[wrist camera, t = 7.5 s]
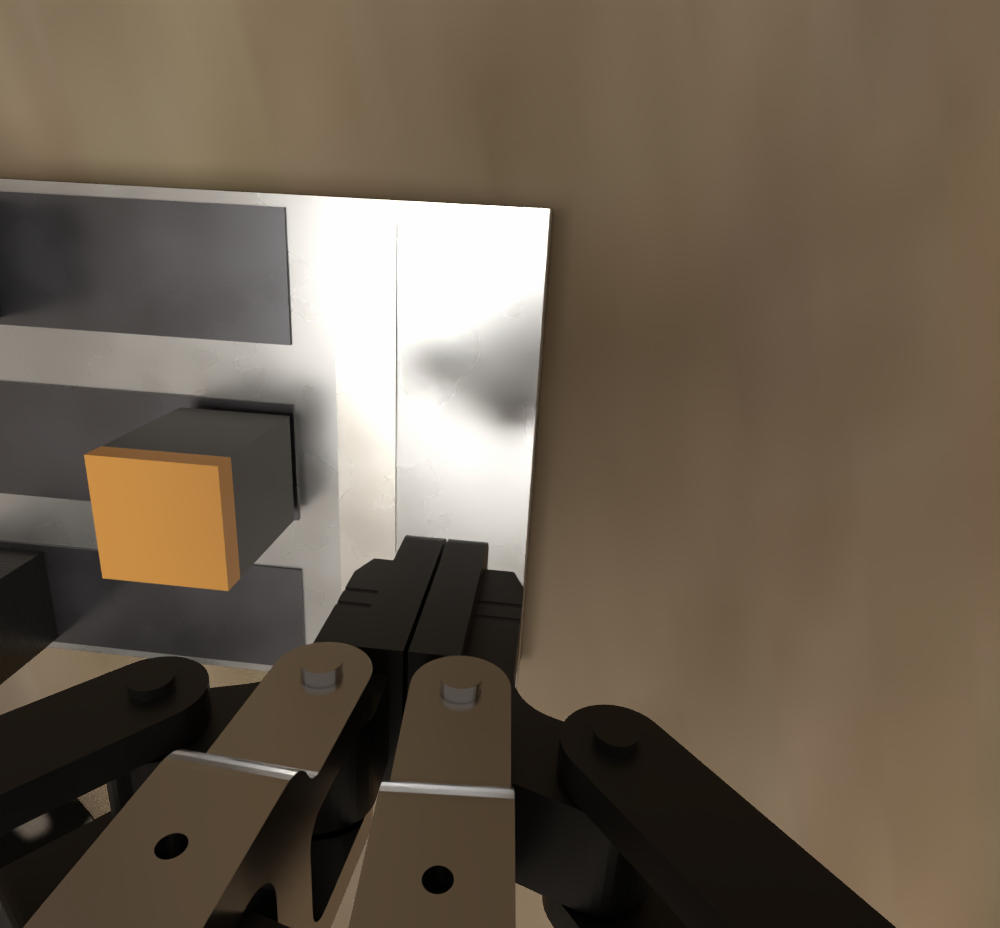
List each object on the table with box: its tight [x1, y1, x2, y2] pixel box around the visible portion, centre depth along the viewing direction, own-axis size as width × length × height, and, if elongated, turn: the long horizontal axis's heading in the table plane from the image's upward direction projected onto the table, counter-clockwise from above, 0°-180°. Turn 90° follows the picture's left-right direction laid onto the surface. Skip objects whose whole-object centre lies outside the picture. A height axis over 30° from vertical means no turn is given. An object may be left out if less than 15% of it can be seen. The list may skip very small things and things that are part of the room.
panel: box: [0, 179, 553, 689], centre depth 19 cm, size 24×14×6 cm, turn 87°
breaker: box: [84, 407, 294, 591], centre depth 18 cm, size 3×3×4 cm
